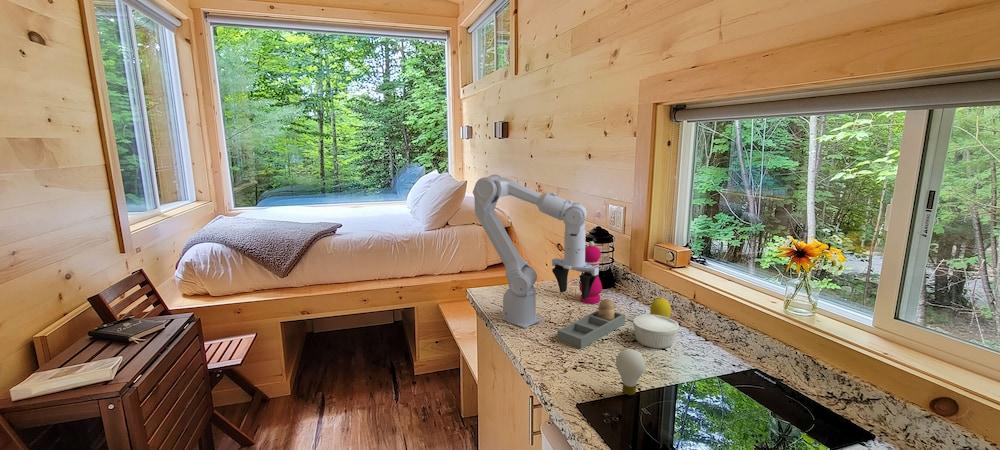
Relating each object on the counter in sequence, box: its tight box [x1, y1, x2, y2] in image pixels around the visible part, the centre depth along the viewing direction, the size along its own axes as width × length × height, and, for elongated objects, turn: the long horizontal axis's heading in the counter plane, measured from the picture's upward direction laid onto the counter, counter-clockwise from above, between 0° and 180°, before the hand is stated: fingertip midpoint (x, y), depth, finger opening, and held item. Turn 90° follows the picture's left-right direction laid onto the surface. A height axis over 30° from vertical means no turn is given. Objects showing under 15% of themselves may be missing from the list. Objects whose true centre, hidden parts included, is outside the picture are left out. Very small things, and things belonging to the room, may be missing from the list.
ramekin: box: [632, 314, 680, 349], centre depth 118 cm, size 11×11×5 cm
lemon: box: [649, 296, 672, 319], centre depth 128 cm, size 6×6×8 cm
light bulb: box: [615, 348, 646, 396], centre depth 94 cm, size 6×6×10 cm
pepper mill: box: [578, 240, 603, 305], centre depth 146 cm, size 7×7×20 cm
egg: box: [598, 298, 616, 321], centre depth 129 cm, size 4×4×7 cm
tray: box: [556, 309, 626, 350], centre depth 124 cm, size 8×21×3 cm, turn 134°
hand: (574, 294), depth 127 cm, fingers open, 7 cm apart
